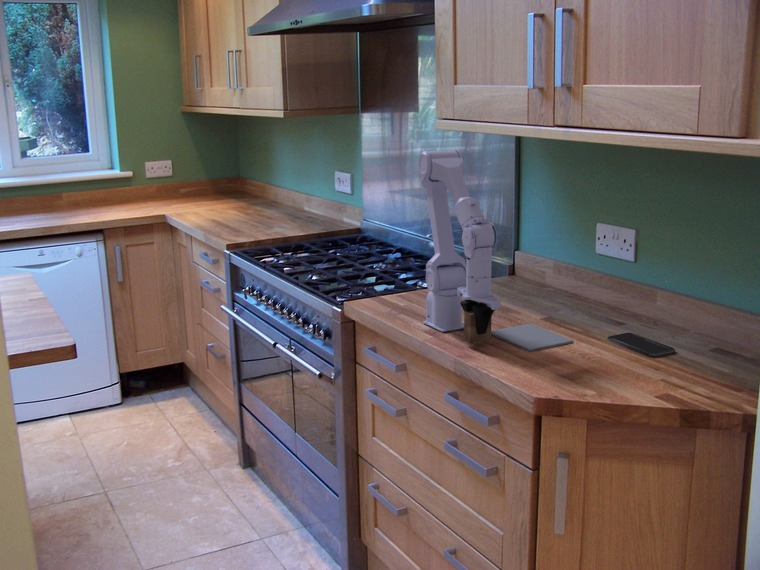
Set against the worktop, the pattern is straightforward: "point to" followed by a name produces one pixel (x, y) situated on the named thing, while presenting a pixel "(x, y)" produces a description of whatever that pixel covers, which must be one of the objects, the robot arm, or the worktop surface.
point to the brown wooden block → (474, 329)
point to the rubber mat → (530, 337)
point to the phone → (641, 345)
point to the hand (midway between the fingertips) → (477, 331)
